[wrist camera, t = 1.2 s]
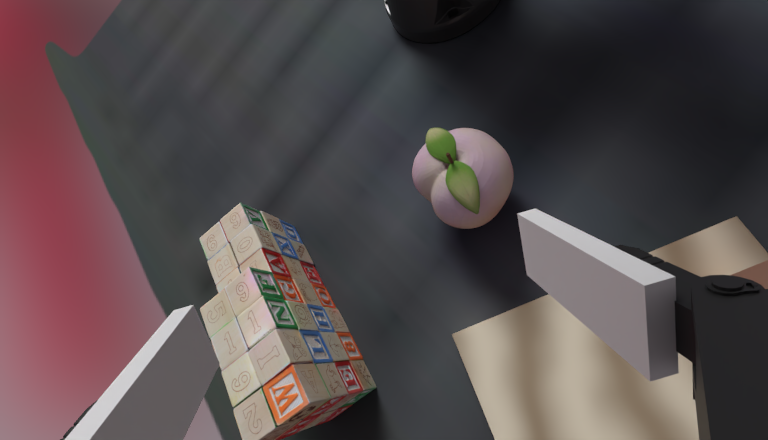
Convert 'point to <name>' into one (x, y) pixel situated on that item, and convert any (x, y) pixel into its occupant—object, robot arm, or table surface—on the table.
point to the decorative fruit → (463, 176)
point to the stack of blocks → (277, 329)
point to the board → (590, 362)
